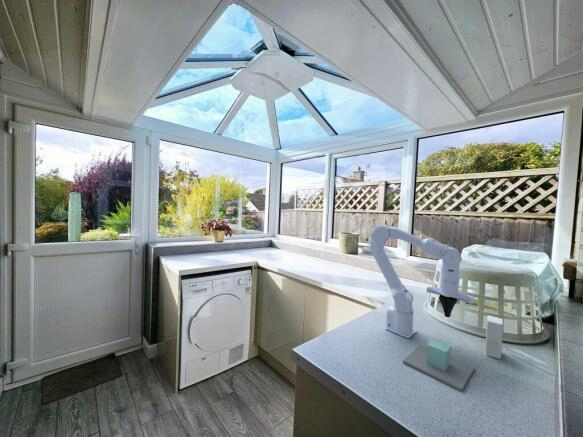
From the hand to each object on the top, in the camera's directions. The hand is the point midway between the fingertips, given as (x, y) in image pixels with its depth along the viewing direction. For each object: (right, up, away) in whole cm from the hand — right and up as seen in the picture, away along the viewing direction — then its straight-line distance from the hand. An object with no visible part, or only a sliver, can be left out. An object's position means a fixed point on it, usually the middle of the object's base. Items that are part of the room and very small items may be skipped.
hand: (447, 316), depth 91 cm
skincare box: (+12, -11, -6) cm, 17 cm away
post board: (-12, -10, -14) cm, 21 cm away
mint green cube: (-12, -10, -14) cm, 20 cm away
